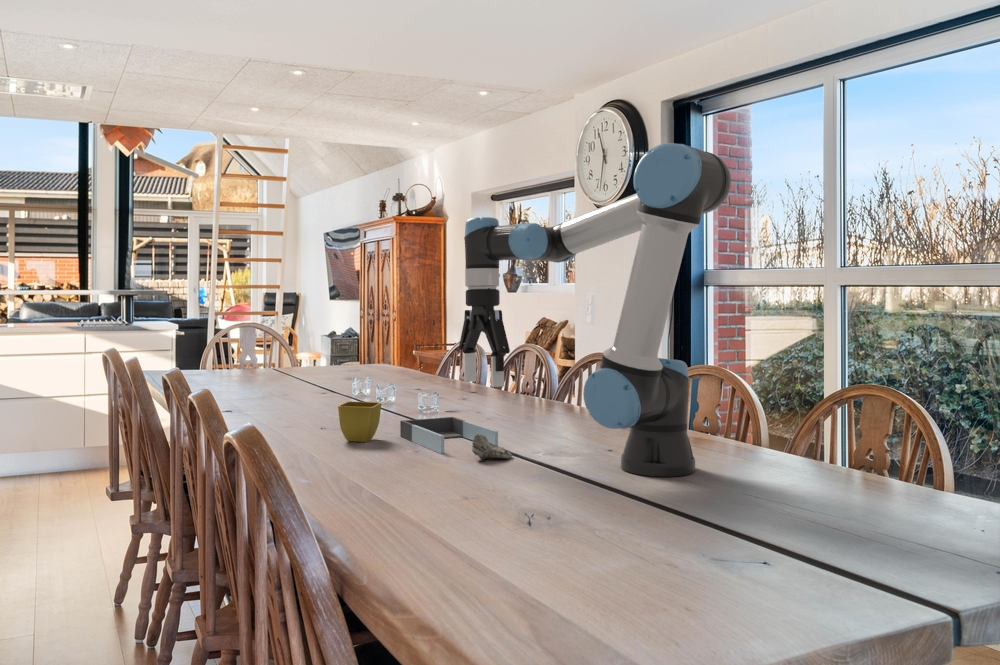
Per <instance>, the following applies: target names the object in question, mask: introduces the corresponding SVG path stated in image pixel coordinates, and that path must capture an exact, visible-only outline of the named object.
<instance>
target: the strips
mask: <svg viewBox="0 0 1000 665" xmlns="http://www.w3.org/2000/svg"><path fill="white" fill-rule="evenodd" d="M476 431H477V432H476ZM476 433H477V434H479V435H483V436H485V437H486V438H487V440H488V442H490V443H492V444H494V445H497V446H499V430H495V429H492V428H489V427H487V426H484V425H481V424H477V423H475V422H474V423H473V422H470V421H467V420H465V421H463V437H462V438H465V439H468V440H471V441H473V440H474V438H475V435H476ZM411 442H412V443H415V444H416V445H419V446H422V447H423V448H427V449H429V450H432V451H433V452H436V453H438V454H440V455H442V454H445V439H444V436H443V435H441V434H438V433H435V432H433V431H430V430H427V429H425V428H422V427H419V426H417V425H412V441H411Z"/></svg>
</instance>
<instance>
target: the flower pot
mask: <svg viewBox="0 0 1000 665" xmlns="http://www.w3.org/2000/svg"><path fill="white" fill-rule="evenodd" d="M382 404H383V402H377V401H376V402H375V401H345V402H343V403H341V404H339V405H338V406H337V409H338V420H339V426H340V431H341V432H342V434H343V437H344V438H345V440H346V441H347V442H362V443H367V442H370V441H371V440H372V439H373V438H374V436H375V434H376V432H377V430H378V427H379V425H380V418H381V411H382Z"/></svg>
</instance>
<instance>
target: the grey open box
mask: <svg viewBox="0 0 1000 665" xmlns="http://www.w3.org/2000/svg"><path fill="white" fill-rule="evenodd" d="M463 421H466V420H465V419H461V418H458V417H455V416H447V417H432V418H431V417H430V418H420V419H409V420H408V419H407V420H400V424H399V426H400V427H399V428H400V434H399V435H400V437H401V438H403V439H405V440H408V441H410V442H412V425H417V426H419V427H422V428H425V429H427V430H430V431H433V432H435V433H438V434H441V435H443V436H444V440H445V439H453V438H464V437H463Z"/></svg>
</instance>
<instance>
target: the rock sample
mask: <svg viewBox="0 0 1000 665" xmlns="http://www.w3.org/2000/svg"><path fill="white" fill-rule="evenodd" d="M476 432H477V431H476ZM471 443H472V444H471V445H472V446H471V447H472V448H471V451H472V453H473V454H474V455H475V456H478V457H479V460H485V459H496V460H497V459H499V460H501V459H504V460H505V459H506V460H510V459H511V458H512V456H513V454H512V453H511V451H510V450H507V449H505V448H504V447H502V446H499V445H498V446H497V445H494V444H492V443H490V442H488V440H487V438H486V437H485V436H483V435H479V434H477V433H476V435H475V438H474V440H472V442H471Z"/></svg>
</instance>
